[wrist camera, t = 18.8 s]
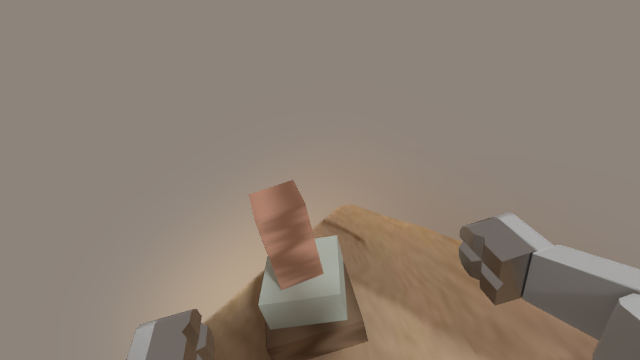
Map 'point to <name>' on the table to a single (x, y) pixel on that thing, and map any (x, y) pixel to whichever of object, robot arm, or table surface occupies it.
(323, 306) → the sage top block
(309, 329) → the walnut base block
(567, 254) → the robot arm
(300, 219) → the terracotta tall block
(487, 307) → the table surface
